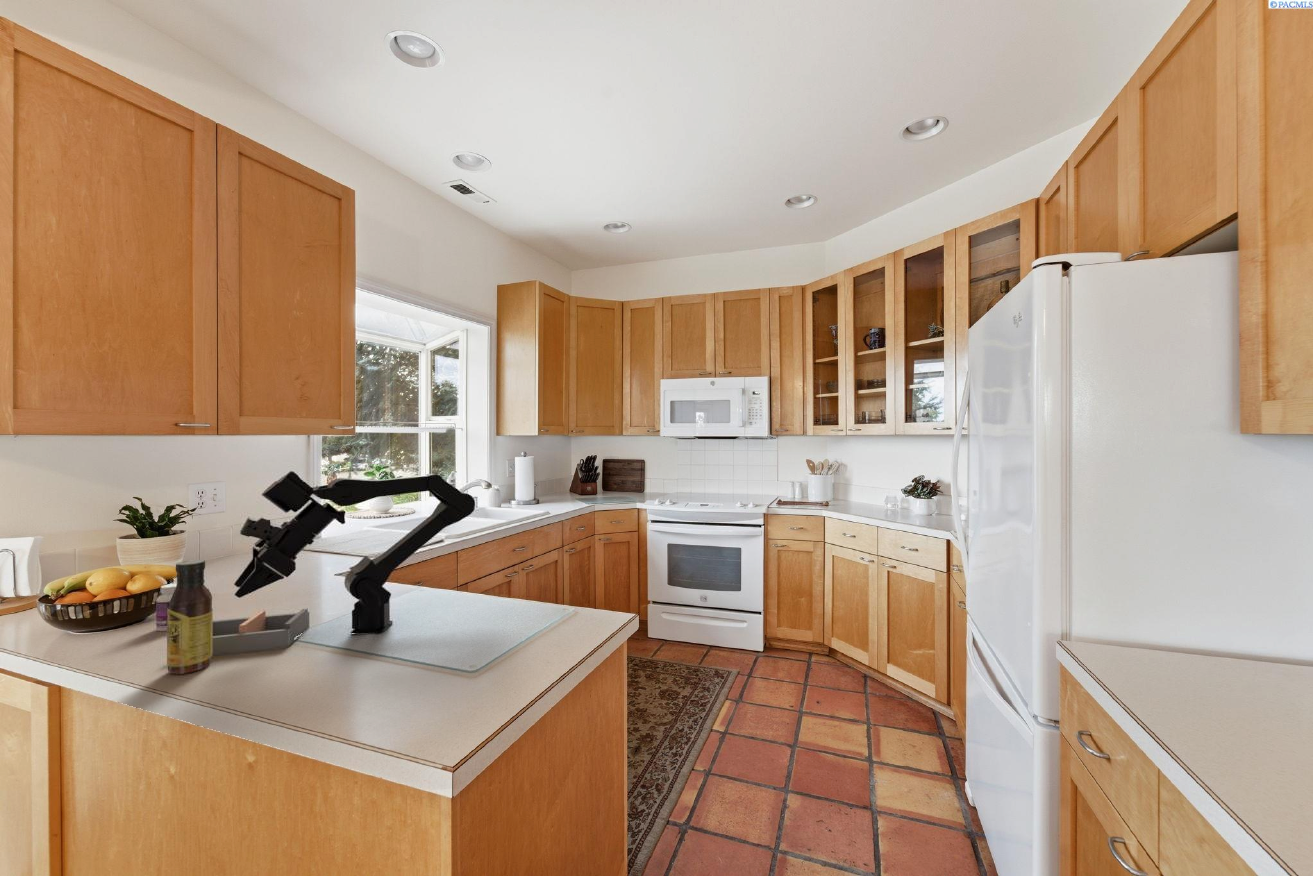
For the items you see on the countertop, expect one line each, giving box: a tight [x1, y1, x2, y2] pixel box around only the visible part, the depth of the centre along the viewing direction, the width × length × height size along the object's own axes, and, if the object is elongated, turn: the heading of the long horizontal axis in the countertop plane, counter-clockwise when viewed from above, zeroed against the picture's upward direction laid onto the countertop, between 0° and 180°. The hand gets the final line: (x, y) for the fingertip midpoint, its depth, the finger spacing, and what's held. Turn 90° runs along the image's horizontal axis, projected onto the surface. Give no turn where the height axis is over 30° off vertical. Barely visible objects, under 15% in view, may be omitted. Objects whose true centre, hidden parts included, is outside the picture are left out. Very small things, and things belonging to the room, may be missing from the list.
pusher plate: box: [239, 610, 267, 634], centre depth 108 cm, size 1×9×4 cm, turn 17°
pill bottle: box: [155, 582, 177, 632], centre depth 117 cm, size 5×5×10 cm
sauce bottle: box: [166, 559, 214, 675], centre depth 95 cm, size 6×6×20 cm
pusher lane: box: [211, 608, 310, 657], centre depth 107 cm, size 18×12×4 cm, turn 107°
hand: (236, 591), depth 99 cm, fingers open, 9 cm apart
